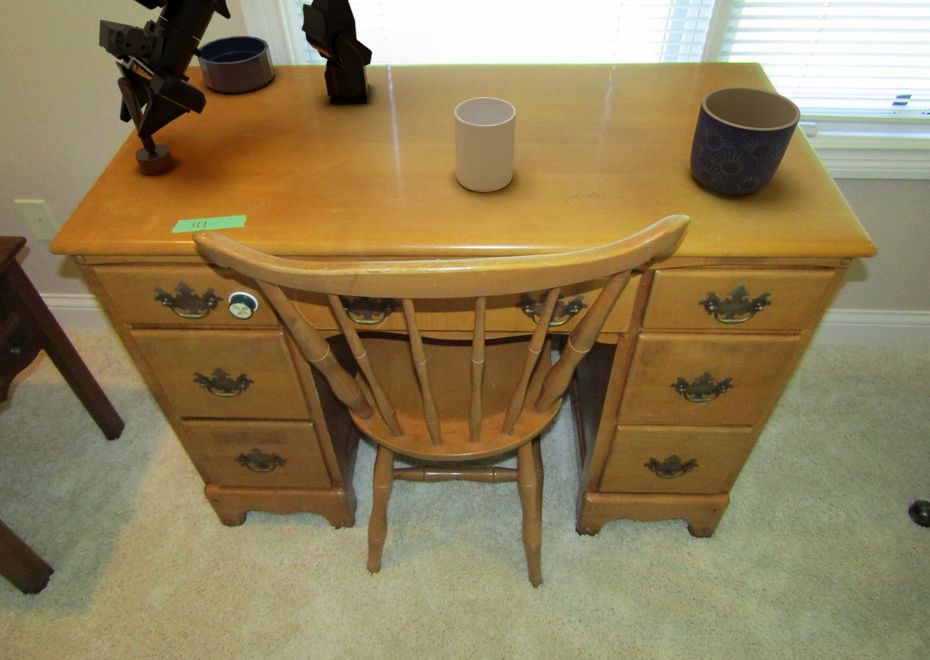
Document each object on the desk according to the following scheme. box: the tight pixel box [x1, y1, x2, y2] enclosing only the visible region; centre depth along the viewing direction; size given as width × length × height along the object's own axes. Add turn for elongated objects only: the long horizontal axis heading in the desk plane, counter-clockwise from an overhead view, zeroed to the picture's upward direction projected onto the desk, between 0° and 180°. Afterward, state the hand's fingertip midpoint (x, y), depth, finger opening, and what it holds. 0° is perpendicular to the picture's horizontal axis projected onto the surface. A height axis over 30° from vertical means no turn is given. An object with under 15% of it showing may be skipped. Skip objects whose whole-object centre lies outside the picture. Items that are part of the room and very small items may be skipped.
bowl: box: [196, 35, 276, 94], centre depth 115 cm, size 12×12×6 cm
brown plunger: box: [116, 76, 175, 176], centre depth 91 cm, size 5×5×14 cm
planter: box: [689, 85, 801, 195], centre depth 87 cm, size 12×12×11 cm
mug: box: [453, 96, 517, 193], centre depth 90 cm, size 12×8×10 cm
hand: (131, 129), depth 90 cm, fingers open, 6 cm apart
